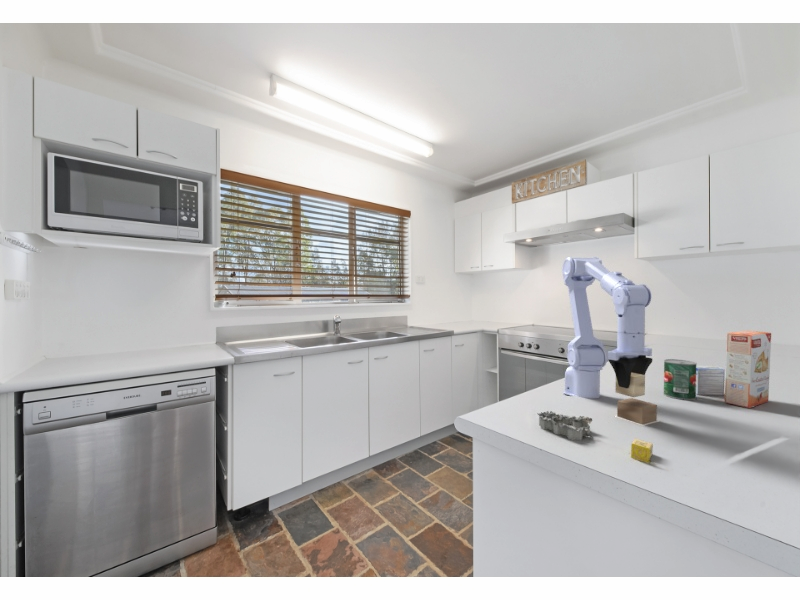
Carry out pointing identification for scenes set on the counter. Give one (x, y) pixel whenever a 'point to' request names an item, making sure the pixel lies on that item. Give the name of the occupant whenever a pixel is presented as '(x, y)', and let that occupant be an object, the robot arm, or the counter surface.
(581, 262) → the robot arm
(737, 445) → the counter surface
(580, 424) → the egg carton
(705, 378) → the medicine box
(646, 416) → the walnut block
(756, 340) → the cracker box
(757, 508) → the counter surface
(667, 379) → the canned tomato
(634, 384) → the oak block
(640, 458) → the alphabet block
